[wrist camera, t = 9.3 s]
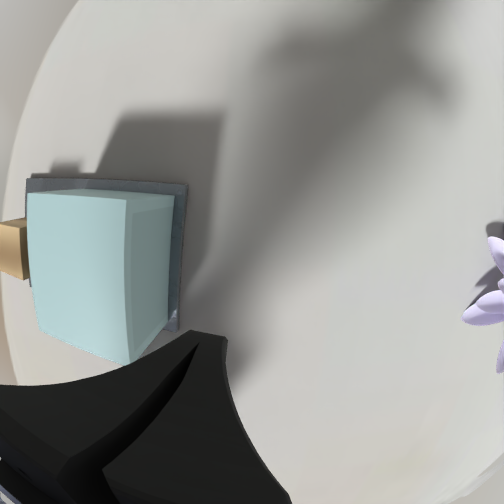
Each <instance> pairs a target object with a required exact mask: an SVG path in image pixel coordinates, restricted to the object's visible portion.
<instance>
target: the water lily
mask: <svg viewBox="0 0 504 504" xmlns="http://www.w3.org/2000/svg"><path fill="white" fill-rule="evenodd" d="M488 245H489V249H490V252H491V255H492V257H493V259H494V261H495V263H496V265H497V266H498V268H499V270H500V271H501V272H502V274H503V275H504V240H502V239H500V238H497V237H493V236H490V237H488ZM498 287H499V288H500V290H496V291H492V292H489V293H487V294H485V295H483V296H482V297H480V298H479V299H478V300H477V301H476V303H475V304H473V305H472V306H470V307H469V308H468V309H466V310H465V311H464V314H463V316H462V317H461V318H460V319H461V320H462V321H463V322H465V323H467V324H470V325H476V326H484V325H490V324H494V323H498V322H502V321H504V278H503V279H501V280H500V281H499V282H498ZM496 372H497V374H500V373H502V372H504V341H503V343H502V346H501V348H500V352H499V355H498V359H497V366H496Z"/></svg>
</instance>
